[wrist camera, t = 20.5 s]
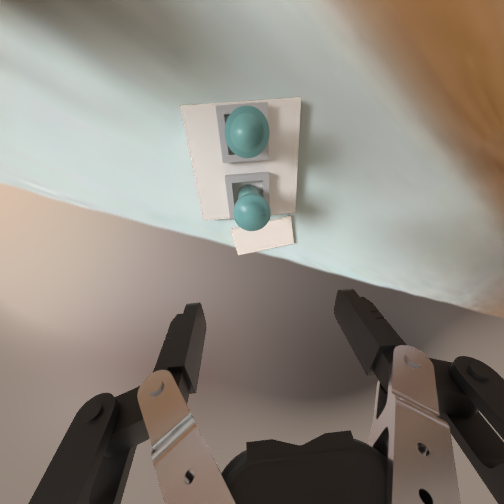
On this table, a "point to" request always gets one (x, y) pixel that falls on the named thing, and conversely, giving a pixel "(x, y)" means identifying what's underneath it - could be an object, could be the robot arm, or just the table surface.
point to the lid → (264, 236)
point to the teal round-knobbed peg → (251, 209)
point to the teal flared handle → (247, 131)
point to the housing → (243, 169)
